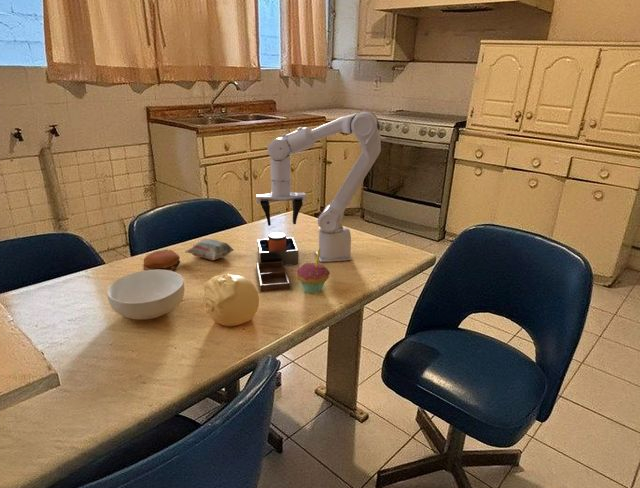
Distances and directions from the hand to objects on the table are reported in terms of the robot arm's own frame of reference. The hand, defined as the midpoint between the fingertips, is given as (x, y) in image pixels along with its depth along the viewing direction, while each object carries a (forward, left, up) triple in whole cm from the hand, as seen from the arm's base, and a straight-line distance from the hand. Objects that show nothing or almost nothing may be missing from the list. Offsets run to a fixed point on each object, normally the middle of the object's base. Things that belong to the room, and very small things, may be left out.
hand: (281, 223), depth 138 cm
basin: (+2, +5, -9) cm, 11 cm away
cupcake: (-5, +27, -10) cm, 29 cm away
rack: (+5, +19, -9) cm, 21 cm away
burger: (+35, +6, -10) cm, 37 cm away
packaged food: (+22, 0, -10) cm, 24 cm away
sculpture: (+16, +38, -10) cm, 42 cm away
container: (+2, +5, -9) cm, 10 cm away
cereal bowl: (+35, +31, -10) cm, 48 cm away
